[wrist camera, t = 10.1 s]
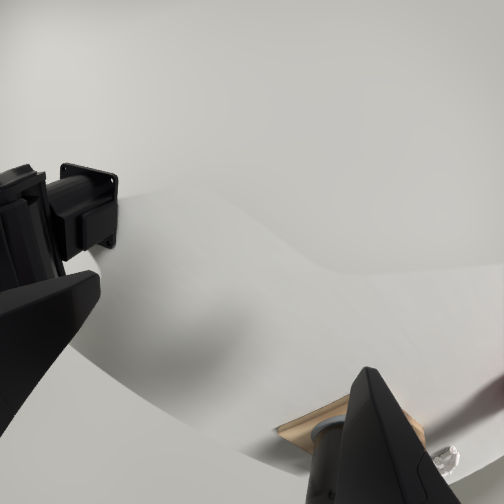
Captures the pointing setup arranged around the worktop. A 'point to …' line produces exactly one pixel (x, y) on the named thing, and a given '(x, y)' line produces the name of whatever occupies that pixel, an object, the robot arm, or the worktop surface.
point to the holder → (311, 424)
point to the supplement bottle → (325, 465)
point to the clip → (448, 461)
